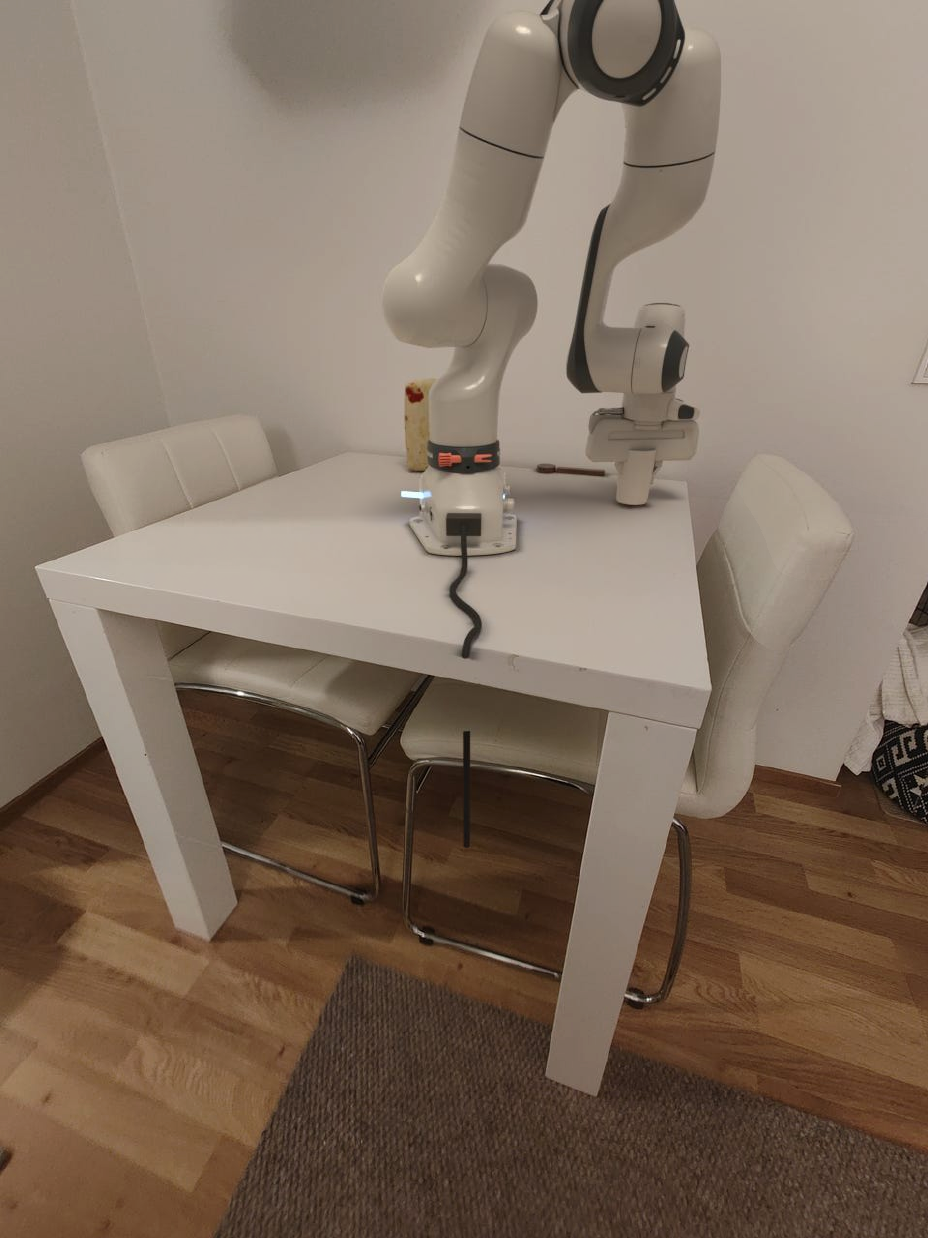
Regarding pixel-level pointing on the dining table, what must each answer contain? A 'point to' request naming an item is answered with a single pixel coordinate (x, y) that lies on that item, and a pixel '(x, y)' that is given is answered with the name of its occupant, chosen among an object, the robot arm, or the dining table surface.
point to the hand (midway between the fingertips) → (635, 484)
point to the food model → (417, 423)
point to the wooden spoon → (568, 470)
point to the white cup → (636, 477)
